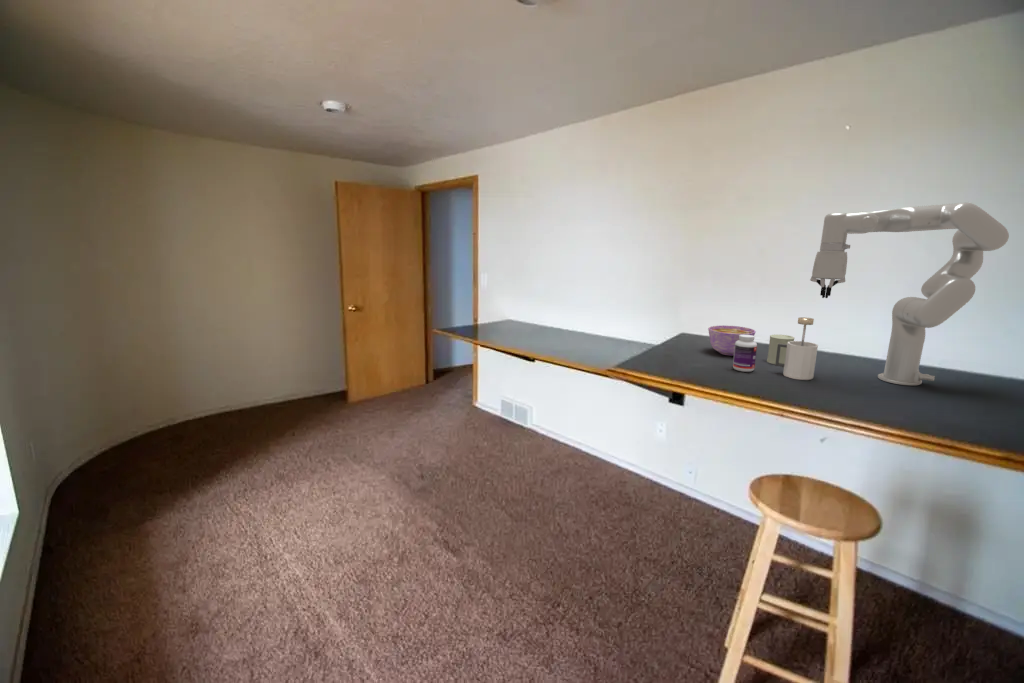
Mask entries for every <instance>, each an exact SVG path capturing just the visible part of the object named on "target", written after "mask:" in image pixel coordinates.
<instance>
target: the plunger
mask: <svg viewBox="0 0 1024 683" xmlns="http://www.w3.org/2000/svg"><path fill="white" fill-rule="evenodd" d="M814 322H815V319H814V318H811V317H798V318H797V324H798V325H803V328H802V337H801V341H802V342H801V346H804V342H805V338H806V330H807V326H812V325H814Z"/></svg>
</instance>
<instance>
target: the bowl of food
mask: <svg viewBox="0 0 1024 683" xmlns="http://www.w3.org/2000/svg"><path fill="white" fill-rule="evenodd" d="M707 330H708V335H709V336H708V337H709V341H710V342H709V343H710V345H711V347H712V349H713V350H715V351H717V353H719V354H721V355H724V356H731V357H732V356H733V357H734V350H735V343H736V341H738V340H740V339H739V335H752V336H754V337H755V335H756V332H757V331H756V330H755V329H753V328H750V327H744V326H737V325H713V326H708V328H707Z"/></svg>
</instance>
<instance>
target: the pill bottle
mask: <svg viewBox="0 0 1024 683" xmlns="http://www.w3.org/2000/svg"><path fill="white" fill-rule="evenodd" d="M739 339H740V340H738V341H736V343H735V350H734V356H733V362H732V367H733V370H735V371H738V372H742V373H743V372H746V373H748V372H749V373H750V372H753V371H754V370H755V368H756V361H757V360H756V359H757V350H758V344H757V342H756V341H755V335H754V336H752V335H739Z"/></svg>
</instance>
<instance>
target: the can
mask: <svg viewBox="0 0 1024 683" xmlns="http://www.w3.org/2000/svg"><path fill="white" fill-rule="evenodd" d="M790 341H795V337H794V336H792V335H787V334H770V335H769V343H768V353H767V358H766V362H767V363H769V364H772V365H775V363H776V355H777V347H778V343H780V344H787V343H788V342H790ZM786 349H787V348H786V347H781V350H780V358H779V363H783V364H785V357H786Z"/></svg>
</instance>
